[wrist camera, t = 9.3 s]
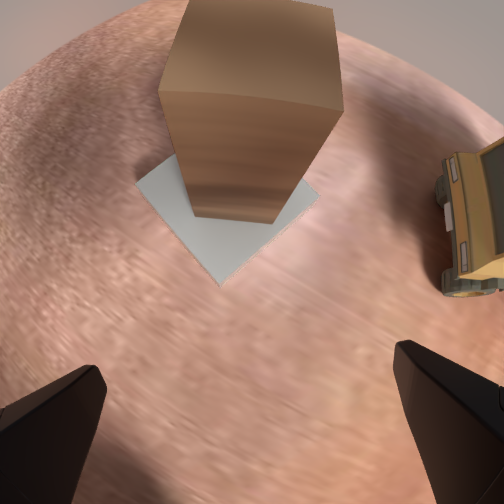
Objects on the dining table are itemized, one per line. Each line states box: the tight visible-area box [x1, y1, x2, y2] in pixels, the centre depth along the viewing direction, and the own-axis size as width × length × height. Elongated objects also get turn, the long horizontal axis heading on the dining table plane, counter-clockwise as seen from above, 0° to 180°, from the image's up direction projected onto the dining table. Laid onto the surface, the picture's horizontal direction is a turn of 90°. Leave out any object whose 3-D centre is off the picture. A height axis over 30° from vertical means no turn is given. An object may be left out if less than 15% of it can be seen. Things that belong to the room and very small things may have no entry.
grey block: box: [135, 153, 320, 288], centre depth 22 cm, size 9×9×3 cm
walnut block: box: [158, 0, 344, 225], centre depth 14 cm, size 5×5×13 cm
